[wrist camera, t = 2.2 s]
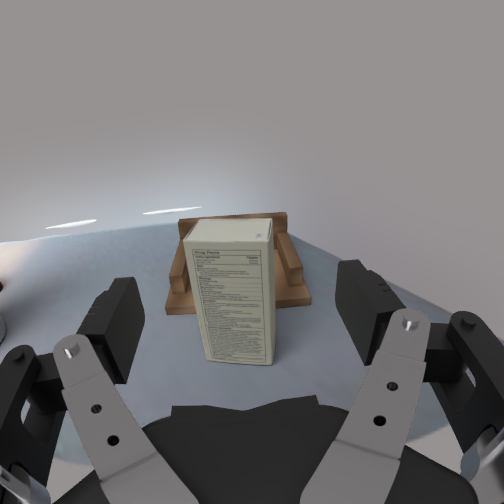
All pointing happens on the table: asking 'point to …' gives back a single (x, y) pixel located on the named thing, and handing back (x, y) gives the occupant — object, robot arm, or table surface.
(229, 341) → the skincare box
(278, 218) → the tray
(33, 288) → the table surface
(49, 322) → the table surface
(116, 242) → the table surface
